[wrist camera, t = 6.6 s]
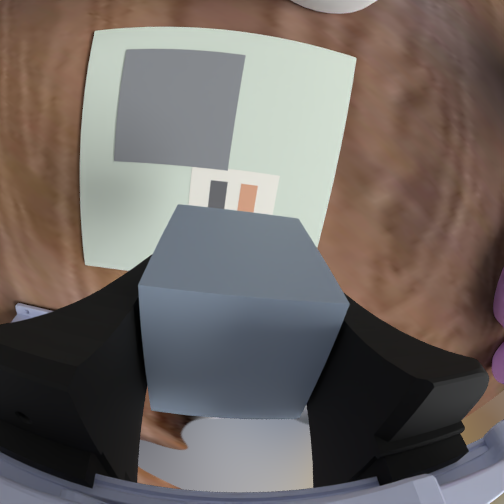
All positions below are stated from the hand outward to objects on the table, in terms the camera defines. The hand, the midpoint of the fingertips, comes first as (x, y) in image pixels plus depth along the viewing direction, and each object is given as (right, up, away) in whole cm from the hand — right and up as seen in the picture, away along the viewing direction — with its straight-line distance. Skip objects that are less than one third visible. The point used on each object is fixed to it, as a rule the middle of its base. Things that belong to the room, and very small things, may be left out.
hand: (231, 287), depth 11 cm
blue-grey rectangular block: (0, +1, +1) cm, 2 cm away
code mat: (-2, +7, +6) cm, 10 cm away
